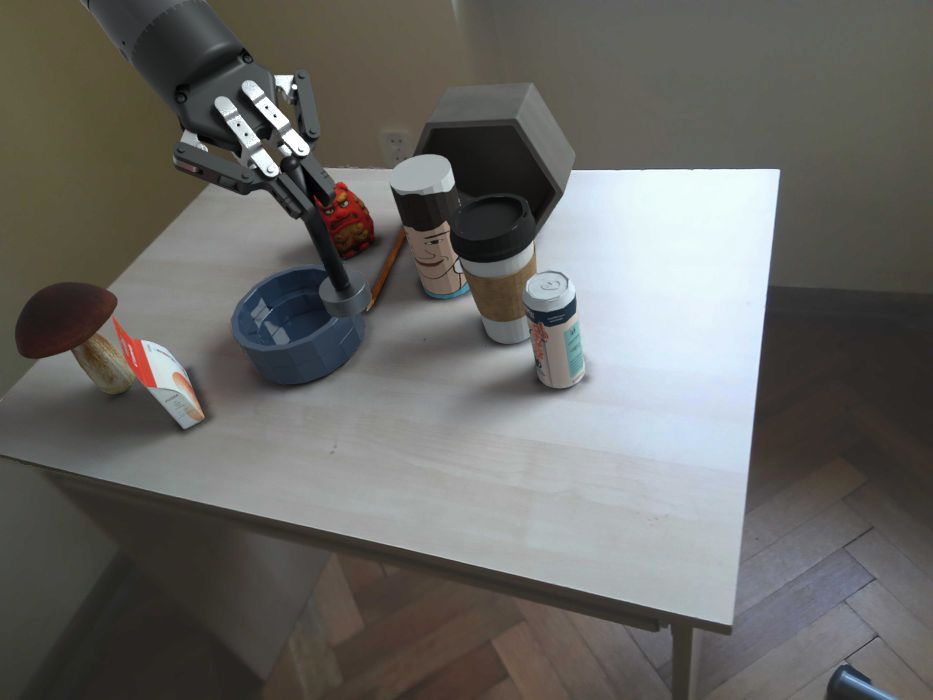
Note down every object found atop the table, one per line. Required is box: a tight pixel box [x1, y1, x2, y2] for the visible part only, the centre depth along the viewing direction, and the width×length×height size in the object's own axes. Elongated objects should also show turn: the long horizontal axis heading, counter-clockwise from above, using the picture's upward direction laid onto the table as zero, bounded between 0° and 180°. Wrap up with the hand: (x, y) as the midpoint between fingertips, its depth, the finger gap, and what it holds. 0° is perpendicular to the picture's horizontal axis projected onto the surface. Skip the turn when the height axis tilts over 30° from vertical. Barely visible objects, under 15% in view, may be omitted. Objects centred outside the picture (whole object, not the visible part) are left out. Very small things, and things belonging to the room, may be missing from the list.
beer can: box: [522, 269, 586, 389], centre depth 67 cm, size 5×5×12 cm
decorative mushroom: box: [14, 281, 136, 395], centre depth 78 cm, size 11×11×15 cm
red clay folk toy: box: [314, 181, 376, 259], centre depth 89 cm, size 8×7×15 cm
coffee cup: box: [449, 193, 538, 345], centre depth 72 cm, size 8×8×15 cm
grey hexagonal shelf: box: [412, 81, 577, 242], centre depth 83 cm, size 17×8×21 cm
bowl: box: [230, 263, 367, 385], centre depth 80 cm, size 14×14×6 cm
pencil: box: [366, 226, 406, 312], centre depth 89 cm, size 1×18×1 cm, turn 166°
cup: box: [387, 154, 470, 300], centre depth 80 cm, size 7×7×15 cm
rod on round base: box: [278, 156, 372, 318], centre depth 60 cm, size 4×4×15 cm
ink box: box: [110, 314, 205, 430], centre depth 76 cm, size 3×9×12 cm, turn 31°
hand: (321, 208), depth 56 cm, fingers closed on rod on round base
